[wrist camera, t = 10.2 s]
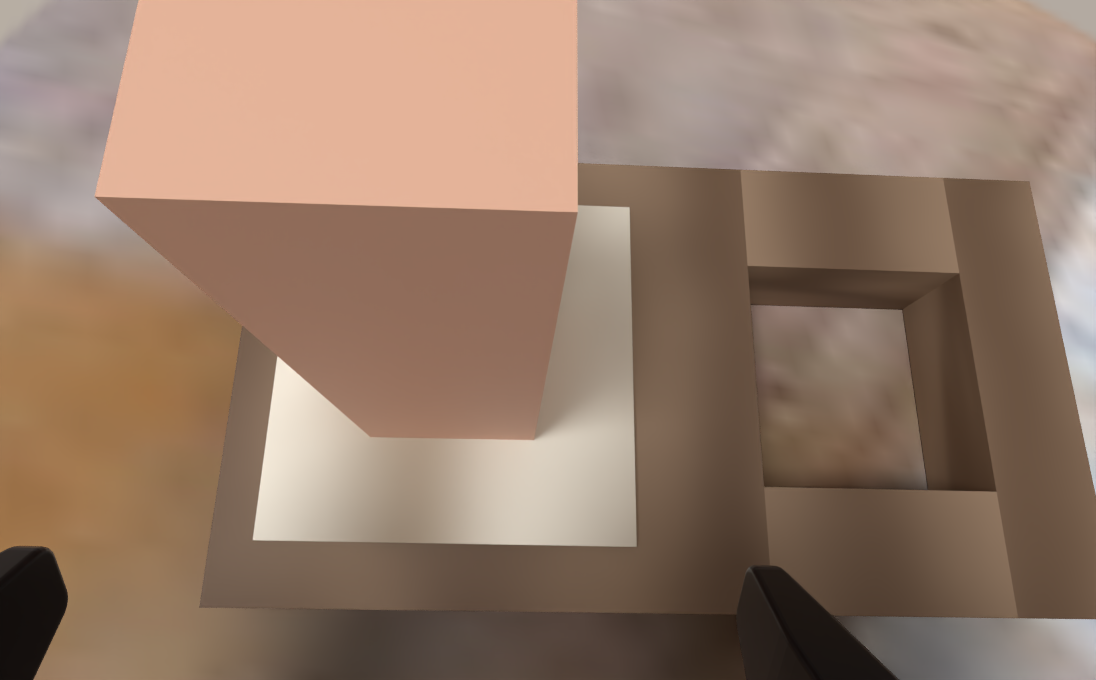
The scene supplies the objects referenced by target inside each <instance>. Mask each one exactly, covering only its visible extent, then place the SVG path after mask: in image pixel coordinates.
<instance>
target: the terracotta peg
mask: <svg viewBox="0 0 1096 680" xmlns="http://www.w3.org/2000/svg"><path fill="white" fill-rule="evenodd" d="M95 197H96V198H97V199H98V200H99V201H100V202H101V203H102V204H104V205H105V206H106V207H107V208H108V209H109V210H110V211H112V212H113V213H114V214H115V215H116V216H117V217H118V218H120V219H121V220H122V221H123V222H124V223H125V224H127V225H128V226H129V227H130V228H131V229H132V230H133V231H135V232H136V233H137V234H138V235H139V236H140V237H141V238H143V239H144V240H145V241H146V242H147V243H148V244H149V245H151V246H152V247H153V248H154V249H155V250H156V251H157V252H159V253H160V254H161V255H162V256H163V257H164V258H166V259H167V260H168V261H169V262H170V263H171V264H172V265H174V266H175V267H176V268H177V269H178V270H179V271H180V272H182V273H183V274H184V275H185V276H186V277H187V278H188V279H190V280H191V281H192V282H193V283H194V284H195V285H196V286H198V287H199V288H200V289H201V290H202V291H203V292H205V293H206V294H207V295H208V296H209V297H210V298H211V299H213V300H214V301H215V302H216V303H217V304H218V305H219V306H221V307H222V308H223V309H224V310H225V311H226V312H227V313H229V314H230V315H231V316H232V317H233V318H234V319H235V320H237V321H238V322H239V323H240V324H241V325H242V326H244V327H245V328H246V329H247V330H248V331H249V332H250V333H252V334H253V335H254V336H255V337H256V338H257V339H258V340H260V341H261V342H262V343H263V344H264V345H265V346H266V347H268V348H269V349H270V350H271V351H272V352H273V353H274V354H276V355H277V356H278V357H279V358H280V359H281V360H283V361H284V362H285V363H286V364H287V365H288V366H289V367H291V368H292V369H293V370H294V371H295V372H296V373H297V374H299V375H300V376H301V377H302V378H303V379H304V380H305V381H307V382H308V383H309V384H310V385H311V386H312V387H313V388H315V389H316V390H317V391H318V392H319V393H320V394H322V395H323V396H324V397H325V398H326V399H327V400H328V401H330V402H331V403H332V404H333V405H334V406H335V407H336V408H338V409H339V410H340V411H341V412H342V413H343V414H344V415H346V416H347V417H348V418H349V419H350V420H351V421H352V422H354V423H355V424H356V425H357V426H358V427H359V428H361V429H362V430H363V431H364V432H365V433H366V434H367V435H369V436H370V437H387V438H444V439H500V440H534V437H535V432H536V427H537V422H538V416H539V411H540V406H541V401H542V396H543V390H544V385H545V380H546V375H547V370H548V364H549V359H550V354H551V349H552V344H553V338H554V333H555V328H556V323H557V318H558V312H559V307H560V302H561V297H562V292H563V286H564V281H565V276H566V271H567V266H568V260H569V255H570V250H571V245H572V240H573V234H574V229H575V224H576V219H577V214H578V130H577V0H139V1H138V6H137V10H136V14H135V19H134V23H133V28H132V32H131V37H130V41H129V46H128V50H127V55H126V59H125V63H124V68H123V72H122V77H121V81H120V86H119V90H118V95H117V99H116V104H115V108H114V112H113V117H112V121H111V126H110V130H109V135H108V139H107V144H106V148H105V153H104V157H103V161H102V166H101V170H100V175H99V179H98V184H97V188H96V193H95Z"/></svg>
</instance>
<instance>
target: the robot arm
mask: <svg viewBox="0 0 1096 680" xmlns="http://www.w3.org/2000/svg"><path fill="white" fill-rule="evenodd" d="M67 602H68V593H67V589H66V586H65V584H64V581H63V578H62V575H61V572H60V570H59V567H58V564H57V561H56V558H55V556H54V554H53V552H52V551H51V550H50V549H49V548H46V547H42V546H15V547H11V548H8V549H6V550H4V551H3V552H1V553H0V680H33V679H34V677H35V675H36V673H37V671H38V669H39V667H40V664H41V662H42V660H43V658H44V656H45V654H46V652H47V650H48V647H49V645H50V643H51V641H52V639H53V637H54V635H55V633H56V630H57V628H58V626H59V624H60V622H61V620H62V618H63V616H64V613H65V611H66V607H67ZM736 620H737V629H738V635H739V641H740V646H741V652H742V657H743V663H744V668H745V674H746V680H899V679H898V678H897V677H896V676H895V675H894V674H893V673H892V672H891V671H889V670H888V669H887V668H886V667H885V666H884V665H883V664H882V663H881V662H880V661H879V660H878V659H877V658H876V657H875V656H874V655H873V654H872V653H871V652H870V651H869V650H868V649H867V648H865V647H864V646H863V645H862V644H861V643H860V642H859V641H858V640H857V639H856V638H855V637H854V636H853V635H852V634H851V633H850V632H849V631H848V630H847V629H846V628H845V627H844V626H843V625H841V624H840V623H839V622H838V621H837V620H836V619H835V618H834V617H833V616H832V615H831V614H830V613H829V612H828V611H827V610H826V609H825V608H824V607H823V606H822V605H821V604H820V603H819V602H818V601H816V600H815V599H814V598H813V597H812V596H811V595H810V594H809V593H808V592H807V591H806V590H805V589H804V588H803V587H802V586H801V585H800V584H799V583H798V582H797V581H796V580H795V579H794V578H792V577H791V576H790V575H789V574H788V573H787V572H786V571H785V570H784V569H783V568H781V567H779V566H771V565H752V566H750V567H749V568H748V569H747V571H746V574H745V578H744V582H743V586H742V590H741V594H740V598H739V602H738V607H737V614H736Z"/></svg>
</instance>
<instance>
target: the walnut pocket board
mask: <svg viewBox="0 0 1096 680" xmlns="http://www.w3.org/2000/svg"><path fill="white" fill-rule="evenodd" d="M751 305H781V306H812V307H843V308H874V309H903V316H904V323H905V330H906V337H907V344H908V351H909V358H910V365H911V372H912V379H913V386H914V393H915V400H916V407H917V414H918V421H919V428H920V435H921V442H922V450H923V457H924V464H925V471H926V478H927V485H928V490H892V489H845V488H797V487H764V479H763V465H762V452H761V438H760V425H759V411H758V398H757V385H756V371H755V358H754V344H753V331H752V318H751ZM752 565H771V566H779V567H781V568H783V569H784V570H785V571H786V572H787V573H788V574H789V575H790V576H791V577H792V578H794V579H795V580H796V581H797V582H798V583H799V584H800V585H801V586H802V587H803V588H804V589H805V590H806V591H807V592H808V593H809V594H810V595H811V596H812V597H813V598H814V599H815V600H816V601H818V602H819V603H820V604H821V605H822V606H823V607H824V608H825V609H826V610H827V611H828V612H829V613H830V614H831V615H832V616H893V617H970V618H1047V619H1096V495H1095V490H1094V485H1093V481H1092V476H1091V471H1090V466H1089V462H1088V457H1087V452H1086V447H1085V443H1084V438H1083V433H1082V429H1081V424H1080V419H1079V414H1078V410H1077V405H1076V400H1075V395H1074V391H1073V386H1072V381H1071V377H1070V372H1069V367H1068V362H1067V358H1066V353H1065V348H1064V343H1063V339H1062V334H1061V329H1060V324H1059V320H1058V315H1057V310H1056V306H1055V301H1054V296H1053V291H1052V287H1051V282H1050V277H1049V272H1048V268H1047V263H1046V258H1045V254H1044V249H1043V244H1042V239H1041V235H1040V230H1039V225H1038V220H1037V216H1036V211H1035V206H1034V201H1033V197H1032V192H1031V187H1030V183H1029V182H1028V181H1003V180H979V179H954V178H929V177H905V176H880V175H855V174H831V173H806V172H781V171H757V170H732V169H708V168H683V167H658V166H634V165H609V164H584V163H578V214H577V219H576V224H575V229H574V234H573V240H572V245H571V250H570V255H569V260H568V266H567V271H566V276H565V281H564V286H563V292H562V297H561V302H560V307H559V312H558V318H557V323H556V328H555V333H554V338H553V344H552V349H551V354H550V359H549V364H548V370H547V375H546V380H545V385H544V390H543V396H542V401H541V406H540V411H539V416H538V422H537V427H536V432H535V437H534V440H500V439H444V438H387V437H370V436H369V435H367V434H366V433H365V432H364V431H363V430H362V429H361V428H359V427H358V426H357V425H356V424H355V423H354V422H352V421H351V420H350V419H349V418H348V417H347V416H346V415H344V414H343V413H342V412H341V411H340V410H339V409H338V408H336V407H335V406H334V405H333V404H332V403H331V402H330V401H328V400H327V399H326V398H325V397H324V396H323V395H322V394H320V393H319V392H318V391H317V390H316V389H315V388H313V387H312V386H311V385H310V384H309V383H308V382H307V381H305V380H304V379H303V378H302V377H301V376H300V375H299V374H297V373H296V372H295V371H294V370H293V369H292V368H291V367H289V366H288V365H287V364H286V363H285V362H284V361H283V360H281V359H280V358H279V357H278V356H277V355H276V354H274V353H273V352H272V351H271V350H270V349H269V348H268V347H266V346H265V345H264V344H263V343H262V342H261V341H260V340H258V339H257V338H256V337H255V336H254V335H253V334H252V333H250V332H249V331H248V330H247V329H246V328H245V327H244V326H242V331H241V337H240V344H239V350H238V357H237V363H236V370H235V376H234V383H233V390H232V396H231V403H230V409H229V416H228V422H227V429H226V436H225V442H224V449H223V455H222V462H221V468H220V475H219V482H218V488H217V495H216V501H215V508H214V514H213V521H212V528H211V534H210V541H209V547H208V554H207V560H206V567H205V573H204V580H203V587H202V593H201V600H200V606H199V607H200V608H277V609H354V610H431V611H508V612H585V613H662V614H737V607H738V602H739V598H740V594H741V590H742V586H743V582H744V578H745V574H746V571H747V569H748V568H749V567H750V566H752Z"/></svg>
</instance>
